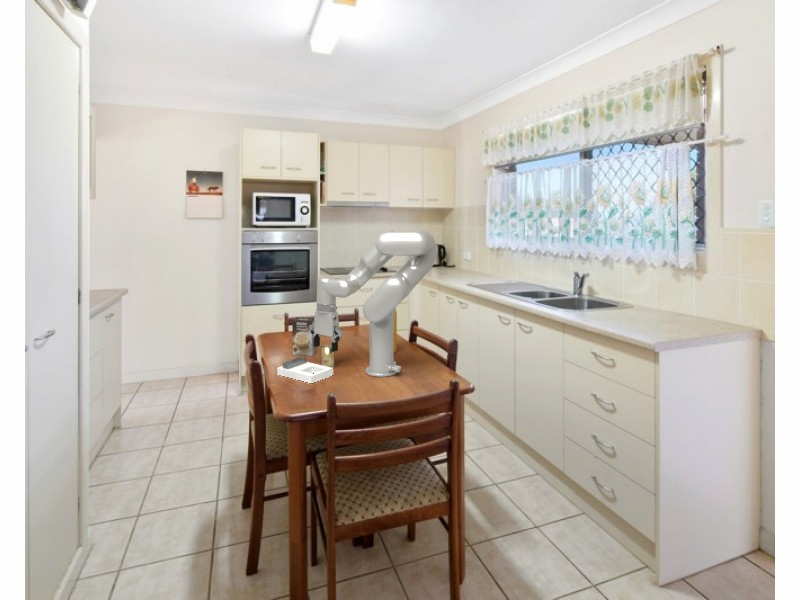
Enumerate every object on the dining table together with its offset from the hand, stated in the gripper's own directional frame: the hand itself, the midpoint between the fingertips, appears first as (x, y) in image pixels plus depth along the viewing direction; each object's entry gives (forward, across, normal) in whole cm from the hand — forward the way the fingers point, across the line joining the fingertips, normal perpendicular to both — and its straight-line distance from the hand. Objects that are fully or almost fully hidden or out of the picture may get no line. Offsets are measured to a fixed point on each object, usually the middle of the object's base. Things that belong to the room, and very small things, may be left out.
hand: (325, 348), depth 195 cm
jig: (+8, 0, +12) cm, 14 cm away
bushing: (+8, -1, 0) cm, 8 cm away
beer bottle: (+7, -7, -33) cm, 35 cm away
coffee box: (+9, +21, -9) cm, 24 cm away
